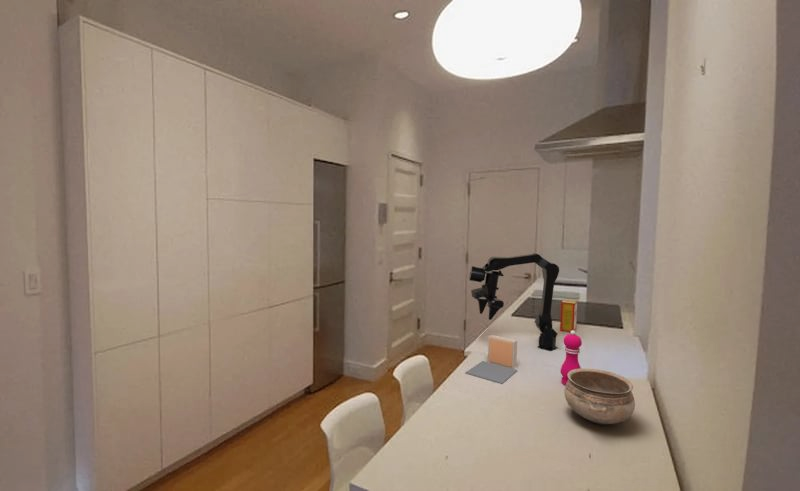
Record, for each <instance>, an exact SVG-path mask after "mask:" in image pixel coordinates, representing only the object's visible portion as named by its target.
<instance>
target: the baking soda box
mask: <svg viewBox="0 0 800 491" xmlns="http://www.w3.org/2000/svg"><path fill="white" fill-rule="evenodd" d="M578 303H579V302H578V299H577V300H576V299H569V298H564V299H563V300H562V301H561V302H560V322H559V332H563V333H570V332H571V331H572V330H574V331H575V332H576V330H577V323H578V321H577V319H578Z"/></svg>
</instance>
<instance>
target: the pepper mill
mask: <svg viewBox="0 0 800 491" xmlns="http://www.w3.org/2000/svg"><path fill="white" fill-rule="evenodd" d="M576 333H577V332H576V330H575V331H574V330H572V331H571V332H570V334H566V335H565V336H564V337H563V345H564V351H565V360H564V362H563V363H562V365H561V367H560V370H559V371H560V374H561V382H560V383H561V384H562V385H563V386H564V387H565V386H566V383H567V381H568V379H569V378H568V373H569V372H570V371H572V370H574V369H581V368H582V367H581V365H580V363H579V354H581V353H580V352H581V348H580V347H581V346H582V343H583V342H582V338H581V337H580V336H579V335H577V334H576Z"/></svg>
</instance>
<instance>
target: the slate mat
mask: <svg viewBox="0 0 800 491" xmlns="http://www.w3.org/2000/svg"><path fill="white" fill-rule="evenodd" d="M517 372H518V369H516V368H514V369H512V368H508V367H504V366H500V365H497V364H493V363H489V362H488V361H485V360H481V361H480V362H479V363H477V364H475V365H474V366H472V367H471V368H470V369H468V370H467V371H465V374H467V375H470V376H473V377H477V378H480V379H484V380H486V381H491V382H492V383H497V384H500V385H503V384H504V383H506V382H507V380H508V379H510V378H511V377H512V376H514V374H516V373H517Z"/></svg>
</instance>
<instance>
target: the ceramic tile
mask: <svg viewBox="0 0 800 491" xmlns="http://www.w3.org/2000/svg"><path fill="white" fill-rule="evenodd" d="M487 343H488V345H487V346H488V347H487V348H488V349H487V362H489V363H493V364H497V365H500V366H504V367H508V368H512V369H516V367H517V359H518V358H517V355H518V350H517V349H518V340H517V339H513V338H509V337H508V338H507V337H504V336H497V335H494V334H491V335H489V336H488V342H487Z"/></svg>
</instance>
